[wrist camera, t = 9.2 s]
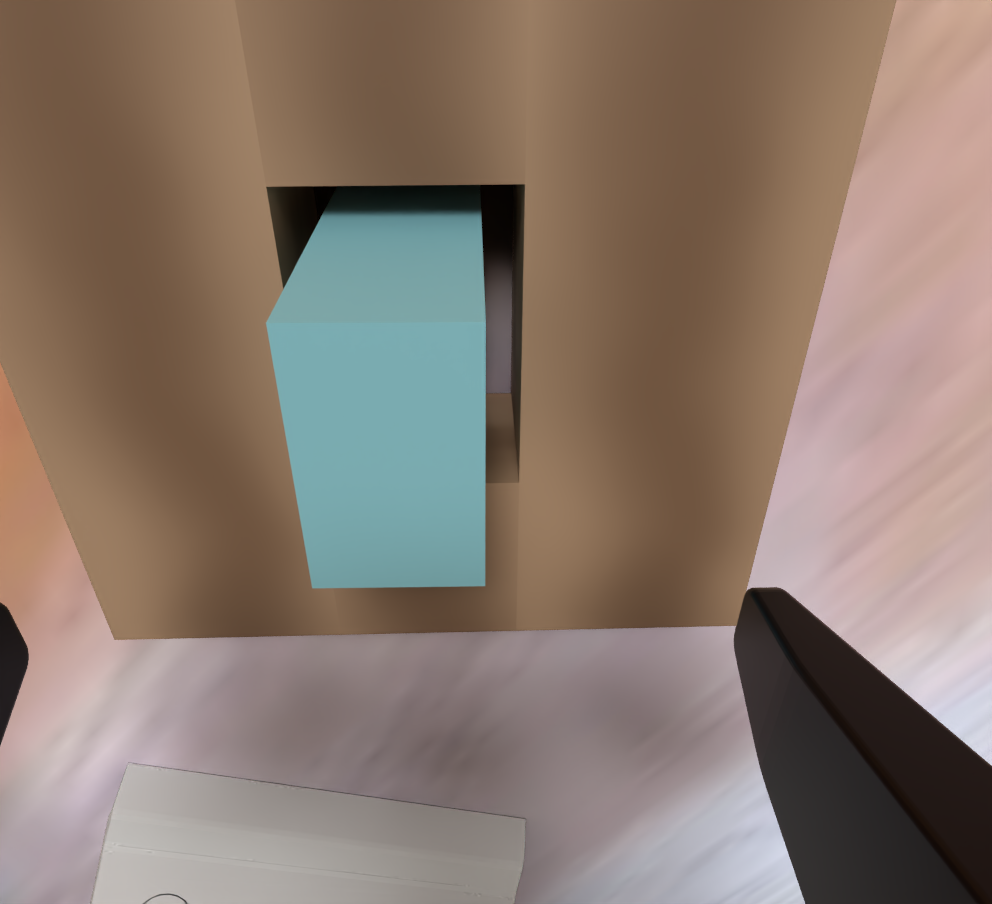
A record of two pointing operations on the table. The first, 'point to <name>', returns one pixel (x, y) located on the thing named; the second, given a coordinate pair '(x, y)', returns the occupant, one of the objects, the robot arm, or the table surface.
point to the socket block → (535, 282)
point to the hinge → (296, 846)
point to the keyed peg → (388, 387)
